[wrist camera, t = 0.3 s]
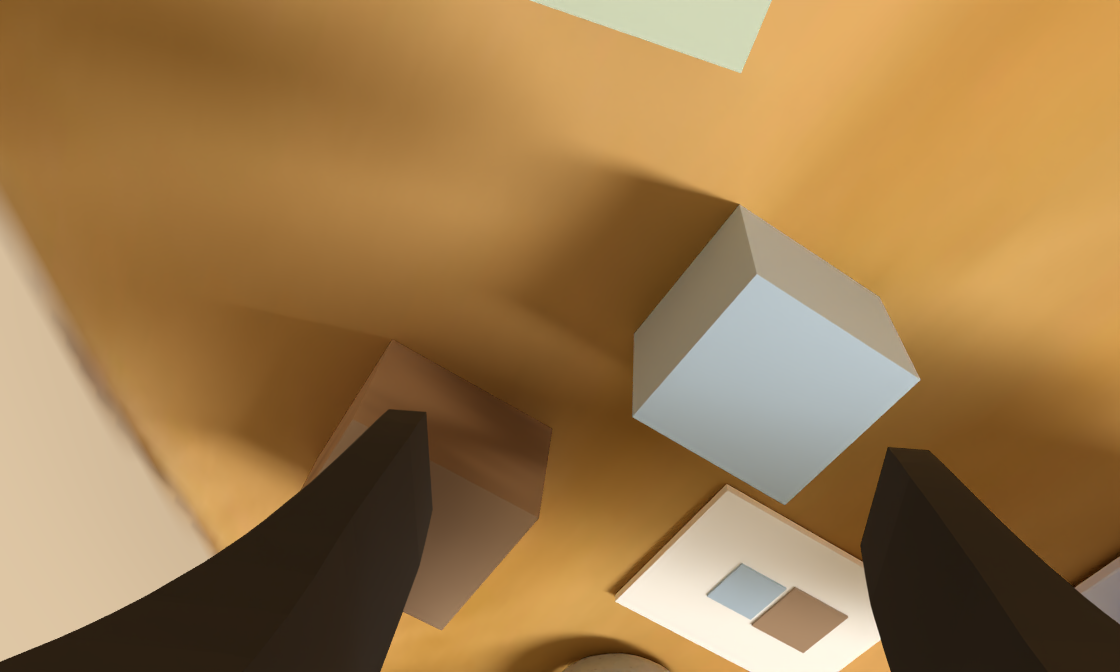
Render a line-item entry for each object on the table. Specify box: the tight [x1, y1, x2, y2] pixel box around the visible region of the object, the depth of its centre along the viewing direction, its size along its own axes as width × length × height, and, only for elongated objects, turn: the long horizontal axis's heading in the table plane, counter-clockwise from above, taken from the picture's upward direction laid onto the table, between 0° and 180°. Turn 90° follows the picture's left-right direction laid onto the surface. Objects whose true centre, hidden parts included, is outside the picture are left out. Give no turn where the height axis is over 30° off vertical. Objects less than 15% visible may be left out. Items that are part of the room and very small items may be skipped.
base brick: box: [301, 339, 552, 630], centre depth 25 cm, size 5×5×4 cm
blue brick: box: [632, 204, 921, 505], centre depth 21 cm, size 5×5×4 cm
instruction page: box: [615, 484, 881, 672], centre depth 28 cm, size 8×6×1 cm
